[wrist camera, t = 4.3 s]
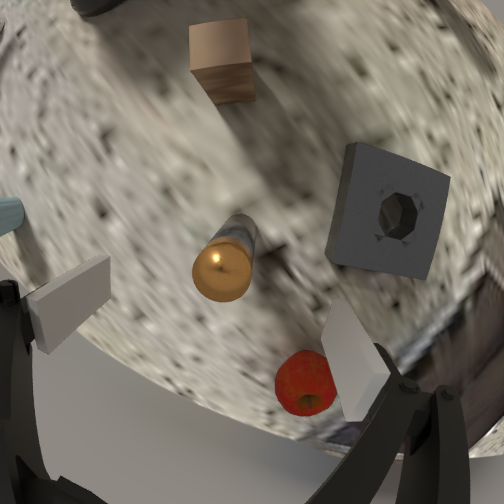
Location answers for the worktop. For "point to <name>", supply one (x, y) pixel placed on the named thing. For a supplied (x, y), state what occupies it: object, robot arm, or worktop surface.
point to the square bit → (222, 60)
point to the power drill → (1, 25)
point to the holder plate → (368, 208)
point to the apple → (305, 384)
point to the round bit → (227, 261)
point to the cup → (10, 214)
